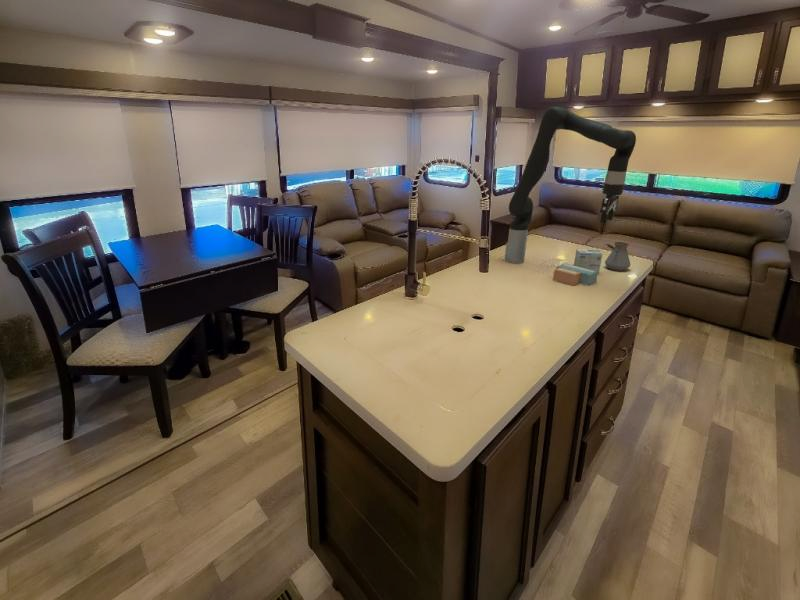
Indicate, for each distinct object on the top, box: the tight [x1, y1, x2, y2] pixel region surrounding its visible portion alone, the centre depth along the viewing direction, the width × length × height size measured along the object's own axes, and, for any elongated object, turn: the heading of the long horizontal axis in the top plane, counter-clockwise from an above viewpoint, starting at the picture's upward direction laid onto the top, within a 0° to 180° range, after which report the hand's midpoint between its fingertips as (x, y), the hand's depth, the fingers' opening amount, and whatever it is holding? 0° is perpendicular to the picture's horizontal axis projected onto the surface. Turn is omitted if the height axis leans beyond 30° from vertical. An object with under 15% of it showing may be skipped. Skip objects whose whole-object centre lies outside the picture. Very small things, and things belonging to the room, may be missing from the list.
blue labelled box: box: [555, 262, 599, 286], centre depth 190 cm, size 16×8×5 cm, turn 41°
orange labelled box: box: [552, 268, 581, 287], centre depth 186 cm, size 10×5×5 cm, turn 41°
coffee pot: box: [603, 241, 631, 272], centre depth 201 cm, size 21×12×15 cm, turn 127°
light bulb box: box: [573, 248, 603, 275], centre depth 199 cm, size 11×7×11 cm, turn 84°
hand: (606, 221), depth 177 cm, fingers open, 8 cm apart
